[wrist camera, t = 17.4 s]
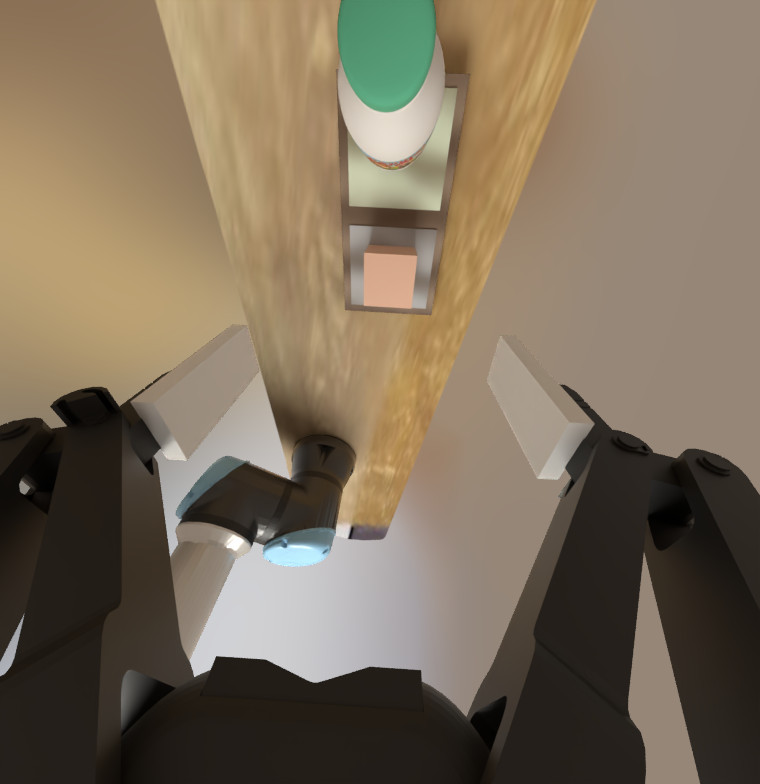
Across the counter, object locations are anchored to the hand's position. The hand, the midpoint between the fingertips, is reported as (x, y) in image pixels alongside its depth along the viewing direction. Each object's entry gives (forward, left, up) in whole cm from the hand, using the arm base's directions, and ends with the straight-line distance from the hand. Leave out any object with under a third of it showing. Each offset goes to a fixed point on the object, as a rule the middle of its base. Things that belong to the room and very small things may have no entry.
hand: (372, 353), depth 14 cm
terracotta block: (-1, -1, -27) cm, 27 cm away
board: (+3, +4, -30) cm, 30 cm away
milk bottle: (+7, +11, -27) cm, 30 cm away
